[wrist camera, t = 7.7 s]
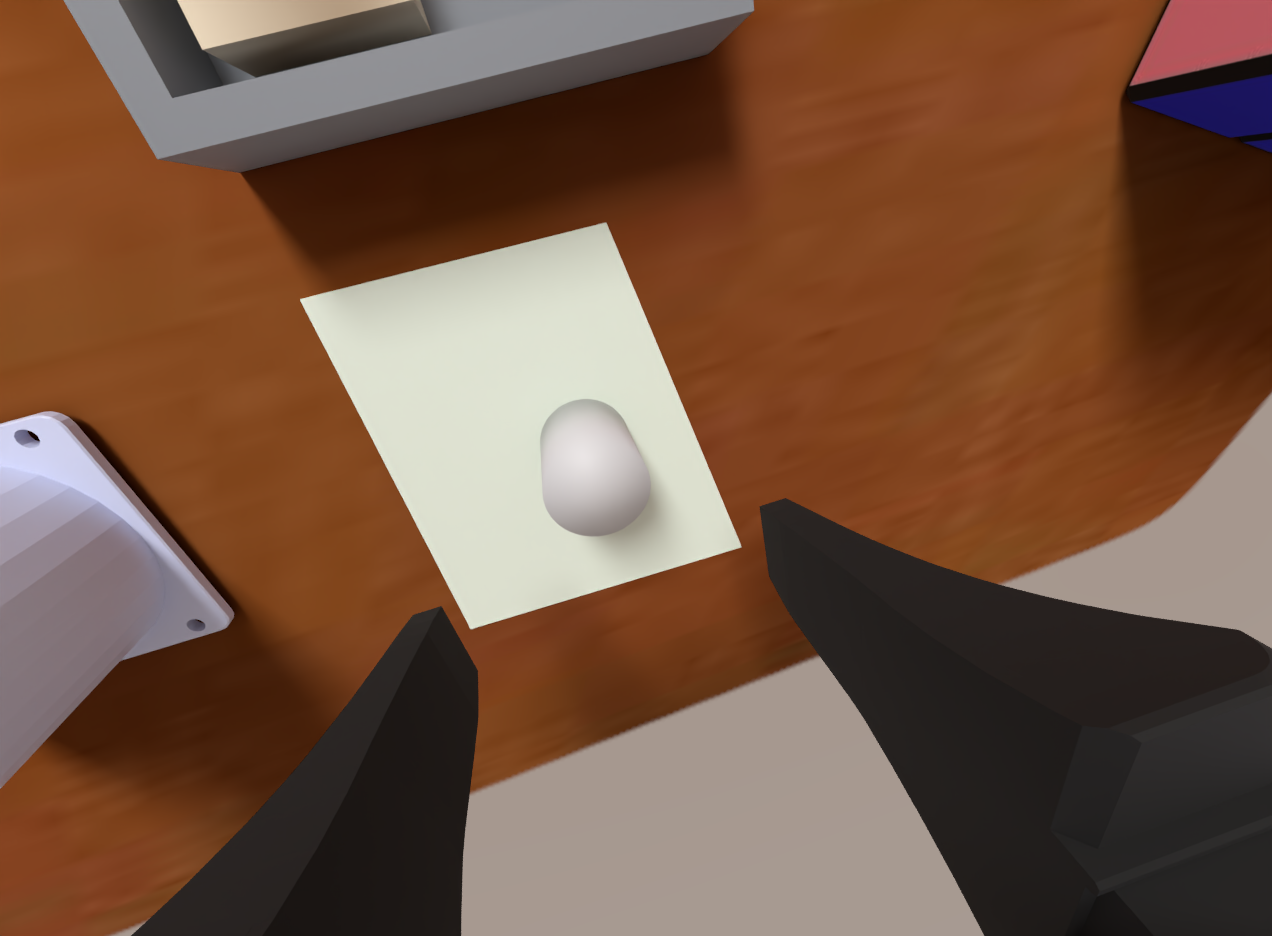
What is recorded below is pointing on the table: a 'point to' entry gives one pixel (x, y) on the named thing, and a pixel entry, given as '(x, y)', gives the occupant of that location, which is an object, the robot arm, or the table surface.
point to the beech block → (299, 29)
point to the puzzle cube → (1211, 68)
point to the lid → (527, 422)
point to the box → (381, 71)
